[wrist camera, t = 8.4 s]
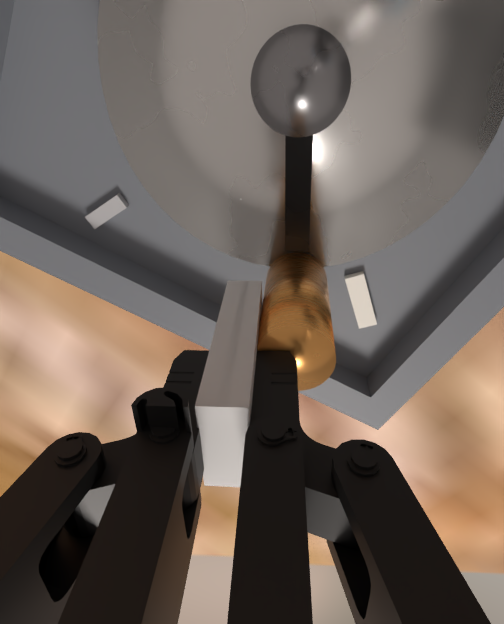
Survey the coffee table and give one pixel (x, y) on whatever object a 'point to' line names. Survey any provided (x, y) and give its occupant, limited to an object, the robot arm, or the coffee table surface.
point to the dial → (302, 131)
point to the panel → (203, 258)
